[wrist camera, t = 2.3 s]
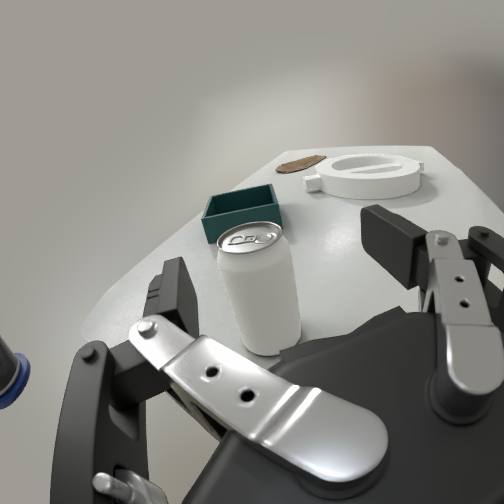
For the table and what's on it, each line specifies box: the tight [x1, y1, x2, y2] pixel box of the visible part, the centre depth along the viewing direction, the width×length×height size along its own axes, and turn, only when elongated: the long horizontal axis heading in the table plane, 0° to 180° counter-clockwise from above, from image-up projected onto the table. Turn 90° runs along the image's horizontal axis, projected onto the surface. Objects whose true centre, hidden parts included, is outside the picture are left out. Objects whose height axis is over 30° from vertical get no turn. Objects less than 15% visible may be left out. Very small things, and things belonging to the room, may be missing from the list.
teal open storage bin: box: [201, 184, 283, 243], centre depth 57 cm, size 14×14×5 cm
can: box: [217, 222, 301, 356], centre depth 26 cm, size 6×6×12 cm
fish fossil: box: [276, 155, 326, 173], centre depth 96 cm, size 26×10×1 cm, turn 141°
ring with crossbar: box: [302, 154, 424, 200], centre depth 66 cm, size 28×28×5 cm
